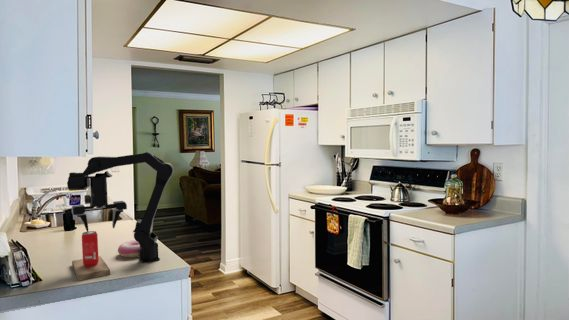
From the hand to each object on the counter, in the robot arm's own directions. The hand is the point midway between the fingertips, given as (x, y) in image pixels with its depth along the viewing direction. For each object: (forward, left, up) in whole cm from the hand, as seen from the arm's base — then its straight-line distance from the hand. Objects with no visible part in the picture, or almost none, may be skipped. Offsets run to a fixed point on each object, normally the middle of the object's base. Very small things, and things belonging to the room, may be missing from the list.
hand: (100, 229), depth 155 cm
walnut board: (+5, +6, -13) cm, 15 cm away
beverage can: (+5, +6, -11) cm, 14 cm away
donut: (-13, -5, -13) cm, 20 cm away
